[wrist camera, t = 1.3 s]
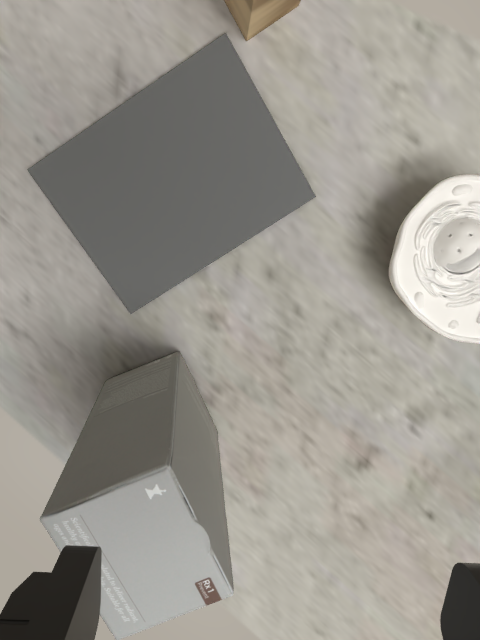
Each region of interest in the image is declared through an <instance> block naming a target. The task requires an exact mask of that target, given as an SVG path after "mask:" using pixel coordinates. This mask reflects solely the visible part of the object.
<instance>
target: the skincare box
mask: <svg viewBox="0 0 480 640" xmlns="http://www.w3.org/2000/svg"><path fill="white" fill-rule="evenodd" d="M40 521H41V523H42V524H43V525H44V527H45V528H46V530H47V532H48V533H49V535H50V536H51V538H52V539H53V541H54V543H55V544H56V546H57V547H58V549H59V551H60V552H61V551H62V549H63V548H64V547H65V546H66V545H73V546H97V547H101V551H102V561H101V606H100V616H101V617H102V619H103V620H104V622H105V623H106V625H107V627H108V628H109V630H110V631H111V633H112V634H113V636H114V637H115V639H116V640H120V639H122V638H125V637H128V636H130V635H133V634H135V633H138V632H140V631H143V630H146V629H148V628H150V627H153V626H155V625H158V624H160V623H163V622H165V621H168V620H170V619H173V618H176V617H178V616H181V615H184V614H186V613H189V612H191V611H194V610H197V609H199V608H202V607H204V606H207V605H209V604H212V603H215V602H217V601H220V600H222V599H225V598H228V597H230V596H232V595H233V593H234V588H233V576H232V567H231V557H230V548H229V539H228V529H227V519H226V513H225V502H224V492H223V482H222V472H221V463H220V453H219V443H218V432H217V430H216V427H215V425H214V423H213V421H212V419H211V417H210V414H209V412H208V410H207V408H206V406H205V404H204V402H203V400H202V397H201V395H200V393H199V391H198V389H197V387H196V384H195V382H194V380H193V378H192V376H191V374H190V372H189V370H188V368H187V365H186V363H185V361H184V359H183V357H182V355H181V353H180V352H175V353H173V354H171V355H168V356H166V357H163V358H161V359H158V360H155V361H153V362H150V363H148V364H146V365H143V366H141V367H138V368H135V369H133V370H130V371H128V372H125V373H123V374H120V375H118V376H115V377H113V378H110V379H108V380H106V382H105V384H104V386H103V388H102V390H101V392H100V394H99V396H98V398H97V400H96V402H95V405H94V407H93V409H92V411H91V413H90V415H89V417H88V419H87V421H86V423H85V426H84V428H83V430H82V432H81V434H80V436H79V438H78V440H77V443H76V445H75V447H74V449H73V451H72V453H71V455H70V457H69V459H68V461H67V463H66V465H65V468H64V470H63V472H62V474H61V476H60V478H59V480H58V482H57V484H56V487H55V489H54V491H53V493H52V495H51V497H50V499H49V501H48V503H47V505H46V507H45V510H44V512H43V514H42V516H41V517H40Z"/></svg>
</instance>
